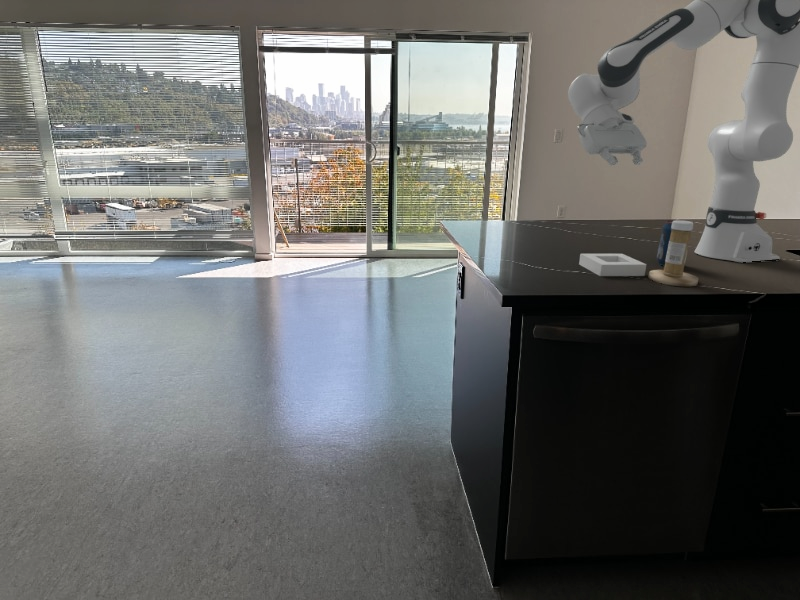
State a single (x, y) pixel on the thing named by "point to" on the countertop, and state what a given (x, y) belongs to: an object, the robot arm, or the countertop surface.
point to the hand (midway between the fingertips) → (627, 163)
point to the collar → (612, 265)
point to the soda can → (664, 243)
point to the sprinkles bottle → (677, 248)
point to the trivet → (673, 279)
